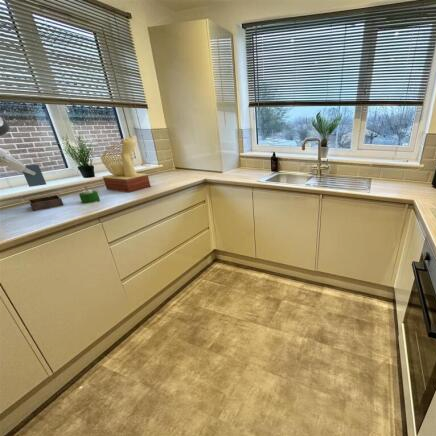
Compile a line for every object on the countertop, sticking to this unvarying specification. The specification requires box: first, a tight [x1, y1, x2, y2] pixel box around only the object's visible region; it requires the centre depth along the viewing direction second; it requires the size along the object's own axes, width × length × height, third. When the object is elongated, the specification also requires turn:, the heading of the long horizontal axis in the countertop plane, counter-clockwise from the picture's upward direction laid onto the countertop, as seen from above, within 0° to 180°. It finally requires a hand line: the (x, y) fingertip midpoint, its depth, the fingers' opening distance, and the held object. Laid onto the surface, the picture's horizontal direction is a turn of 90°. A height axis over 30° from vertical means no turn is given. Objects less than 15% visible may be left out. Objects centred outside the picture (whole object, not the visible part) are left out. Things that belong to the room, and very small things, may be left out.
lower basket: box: [27, 194, 64, 212], centre depth 132 cm, size 12×12×5 cm
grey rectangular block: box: [22, 164, 47, 188], centre depth 125 cm, size 6×6×10 cm
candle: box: [78, 184, 101, 204], centre depth 138 cm, size 8×8×10 cm
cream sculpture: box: [100, 135, 152, 193], centre depth 161 cm, size 25×18×35 cm
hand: (34, 173), depth 125 cm, fingers closed on grey rectangular block, 6 cm apart
